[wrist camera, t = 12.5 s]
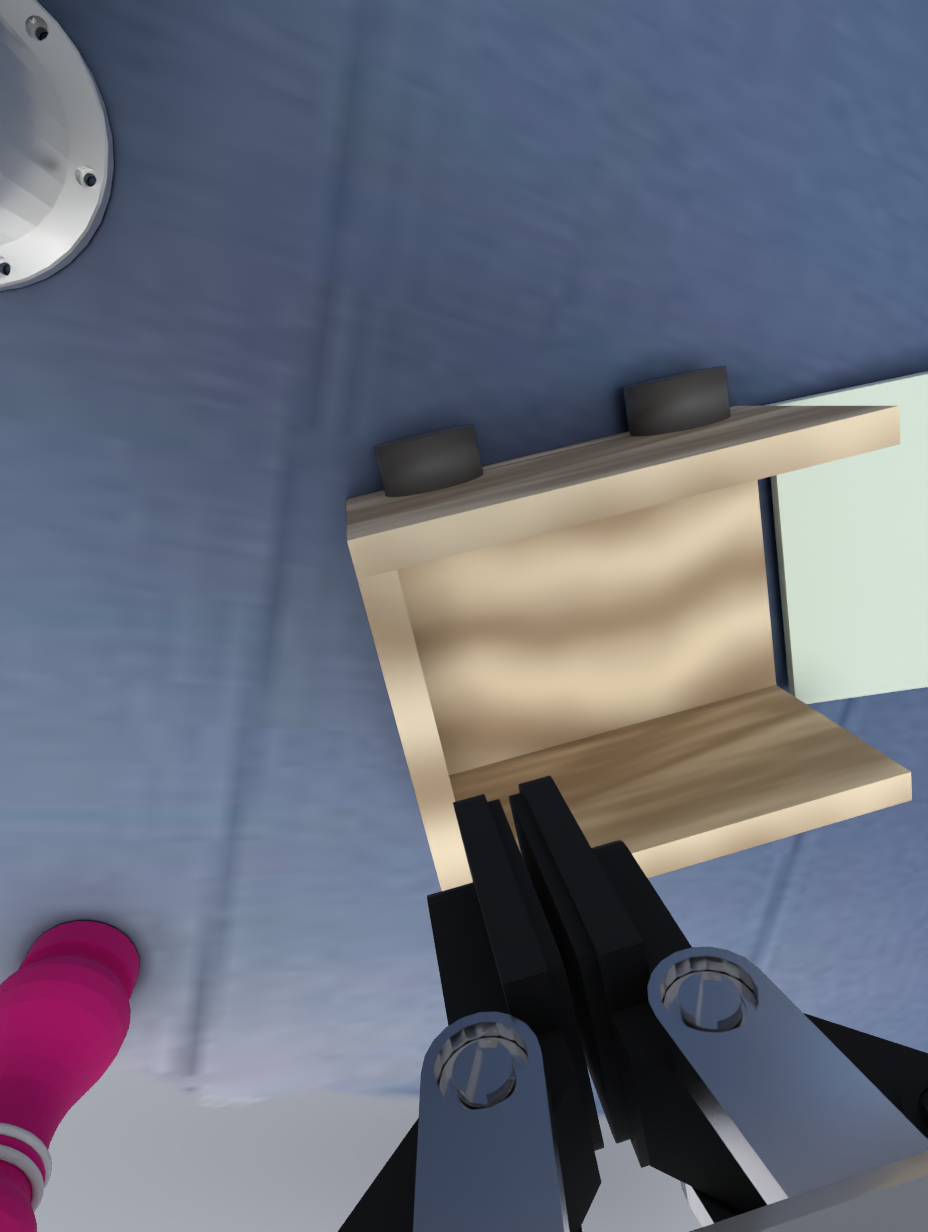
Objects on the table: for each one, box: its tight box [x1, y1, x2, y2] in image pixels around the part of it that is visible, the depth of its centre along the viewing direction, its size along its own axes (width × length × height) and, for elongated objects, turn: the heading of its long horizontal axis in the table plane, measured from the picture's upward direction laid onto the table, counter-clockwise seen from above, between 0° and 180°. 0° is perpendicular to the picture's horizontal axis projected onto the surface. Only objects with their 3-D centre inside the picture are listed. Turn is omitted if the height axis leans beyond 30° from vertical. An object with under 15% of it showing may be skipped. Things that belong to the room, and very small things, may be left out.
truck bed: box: [346, 366, 912, 891], centre depth 36 cm, size 23×22×12 cm
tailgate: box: [764, 371, 928, 704], centre depth 41 cm, size 18×2×11 cm
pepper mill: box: [0, 921, 140, 1232], centre depth 34 cm, size 7×7×20 cm
